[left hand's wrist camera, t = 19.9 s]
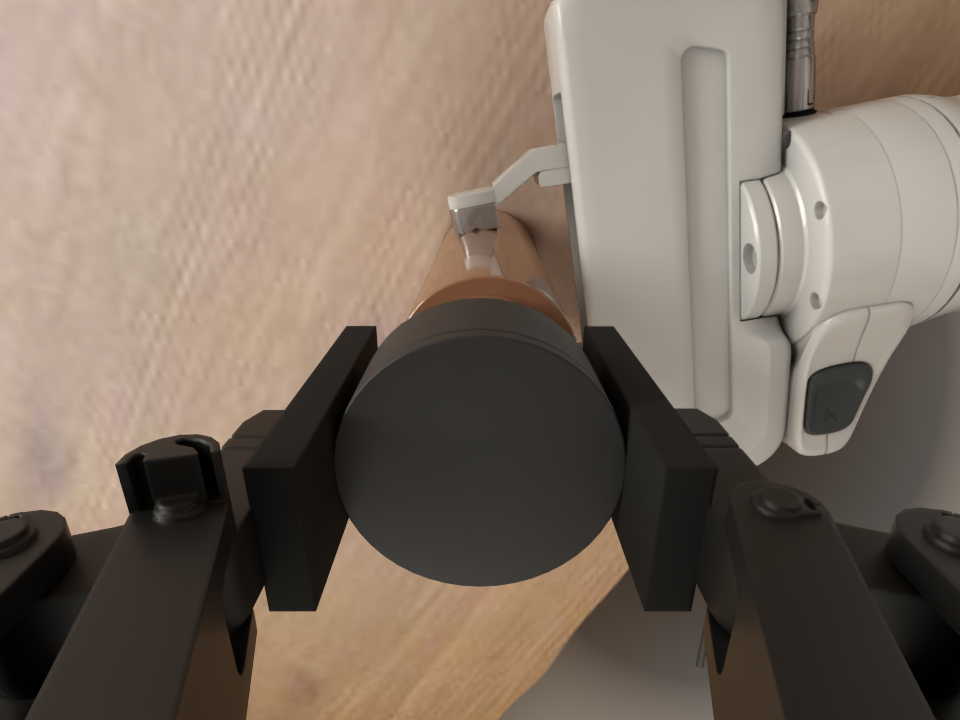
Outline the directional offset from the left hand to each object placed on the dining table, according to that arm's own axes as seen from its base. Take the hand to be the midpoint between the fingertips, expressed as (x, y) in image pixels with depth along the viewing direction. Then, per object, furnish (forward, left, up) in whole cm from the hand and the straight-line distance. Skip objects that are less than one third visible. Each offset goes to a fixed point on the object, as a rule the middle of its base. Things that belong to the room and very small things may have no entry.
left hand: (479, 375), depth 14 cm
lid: (0, 0, +4) cm, 4 cm away
